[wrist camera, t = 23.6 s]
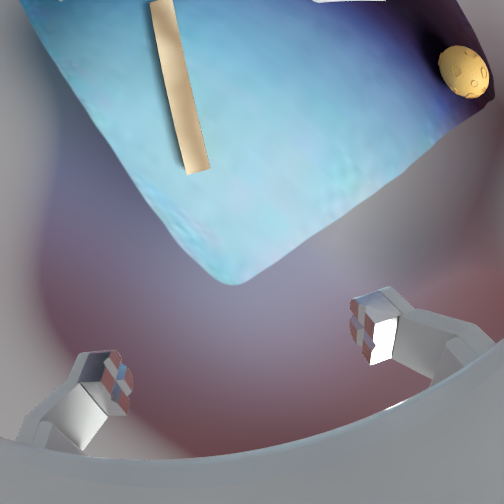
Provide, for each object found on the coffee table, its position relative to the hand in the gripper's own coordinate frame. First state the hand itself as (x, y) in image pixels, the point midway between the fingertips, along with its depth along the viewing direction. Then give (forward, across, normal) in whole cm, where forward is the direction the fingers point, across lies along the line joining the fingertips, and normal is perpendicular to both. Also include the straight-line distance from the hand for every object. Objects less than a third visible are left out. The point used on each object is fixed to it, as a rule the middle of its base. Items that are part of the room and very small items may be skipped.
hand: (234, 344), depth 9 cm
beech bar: (+28, +2, -16) cm, 33 cm away
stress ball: (+31, -45, -16) cm, 57 cm away
